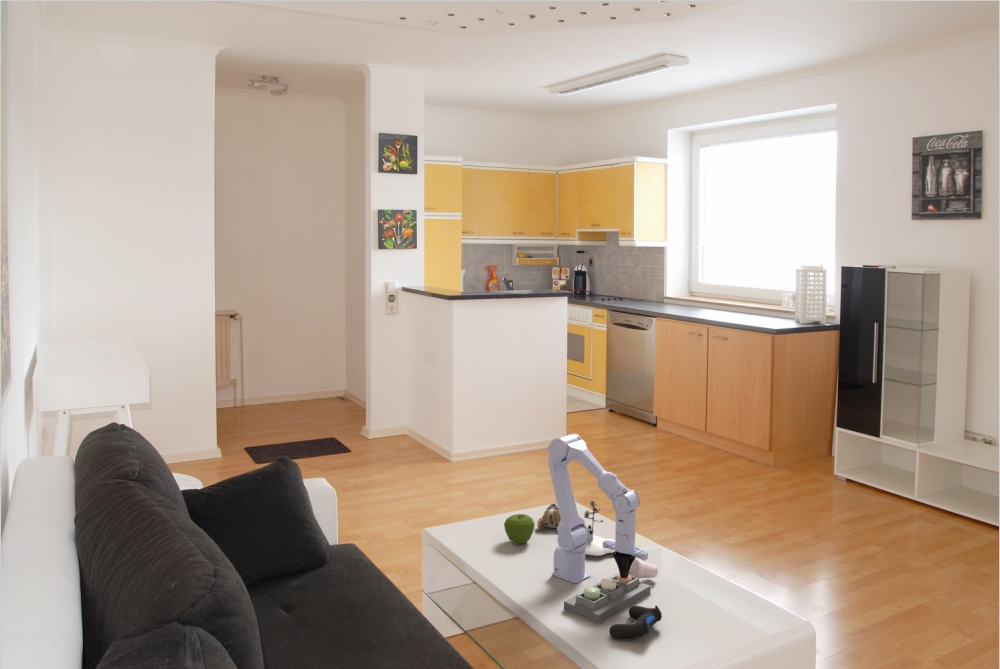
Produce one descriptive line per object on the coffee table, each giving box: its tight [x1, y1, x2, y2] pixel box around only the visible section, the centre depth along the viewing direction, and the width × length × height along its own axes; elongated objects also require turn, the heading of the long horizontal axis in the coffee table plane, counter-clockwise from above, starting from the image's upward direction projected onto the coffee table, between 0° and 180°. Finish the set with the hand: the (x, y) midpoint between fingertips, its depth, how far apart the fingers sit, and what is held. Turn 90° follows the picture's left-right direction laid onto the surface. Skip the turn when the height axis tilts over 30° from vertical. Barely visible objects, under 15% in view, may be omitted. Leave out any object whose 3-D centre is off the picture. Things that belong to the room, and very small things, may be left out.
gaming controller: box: [608, 605, 663, 641], centre depth 206 cm, size 17×6×10 cm
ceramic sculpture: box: [536, 500, 561, 529], centre depth 285 cm, size 11×9×15 cm
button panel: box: [563, 573, 652, 625], centre depth 223 cm, size 12×26×4 cm, turn 137°
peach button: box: [617, 573, 632, 584], centre depth 229 cm, size 4×4×2 cm
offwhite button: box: [600, 578, 616, 592], centre depth 223 cm, size 4×4×2 cm
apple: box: [503, 513, 535, 545], centre depth 269 cm, size 11×10×10 cm
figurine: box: [583, 500, 616, 557], centre depth 264 cm, size 20×18×16 cm
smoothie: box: [628, 557, 659, 579], centre depth 236 cm, size 6×6×14 cm
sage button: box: [583, 586, 600, 601], centre depth 217 cm, size 4×4×2 cm
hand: (624, 577), depth 229 cm, fingers closed, pressing on peach button
